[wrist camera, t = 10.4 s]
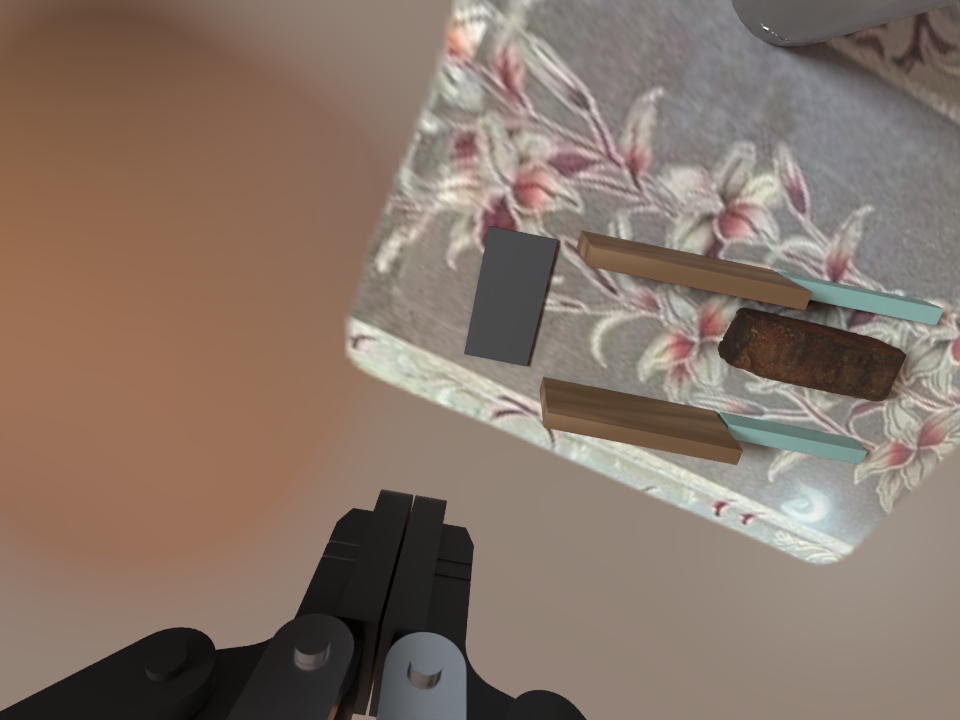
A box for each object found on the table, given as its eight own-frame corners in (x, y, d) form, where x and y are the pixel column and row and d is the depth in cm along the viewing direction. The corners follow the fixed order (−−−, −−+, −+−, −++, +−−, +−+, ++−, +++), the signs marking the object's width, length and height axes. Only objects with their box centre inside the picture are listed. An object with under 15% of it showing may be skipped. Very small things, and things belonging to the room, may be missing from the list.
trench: (581, 230, 40) (592, 247, 34) (771, 269, 40) (812, 292, 35) (539, 390, 45) (543, 427, 39) (709, 423, 45) (736, 465, 40)
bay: (778, 271, 40) (790, 277, 38) (924, 301, 40) (944, 309, 39) (715, 425, 45) (723, 437, 43) (846, 450, 45) (860, 464, 44)
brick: (865, 332, 41) (912, 352, 37) (842, 381, 43) (886, 406, 38) (731, 302, 40) (763, 319, 36) (712, 353, 42) (741, 375, 37)
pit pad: (489, 225, 40) (489, 226, 40) (557, 239, 40) (557, 240, 40) (464, 352, 44) (464, 354, 44) (526, 364, 44) (526, 366, 44)
